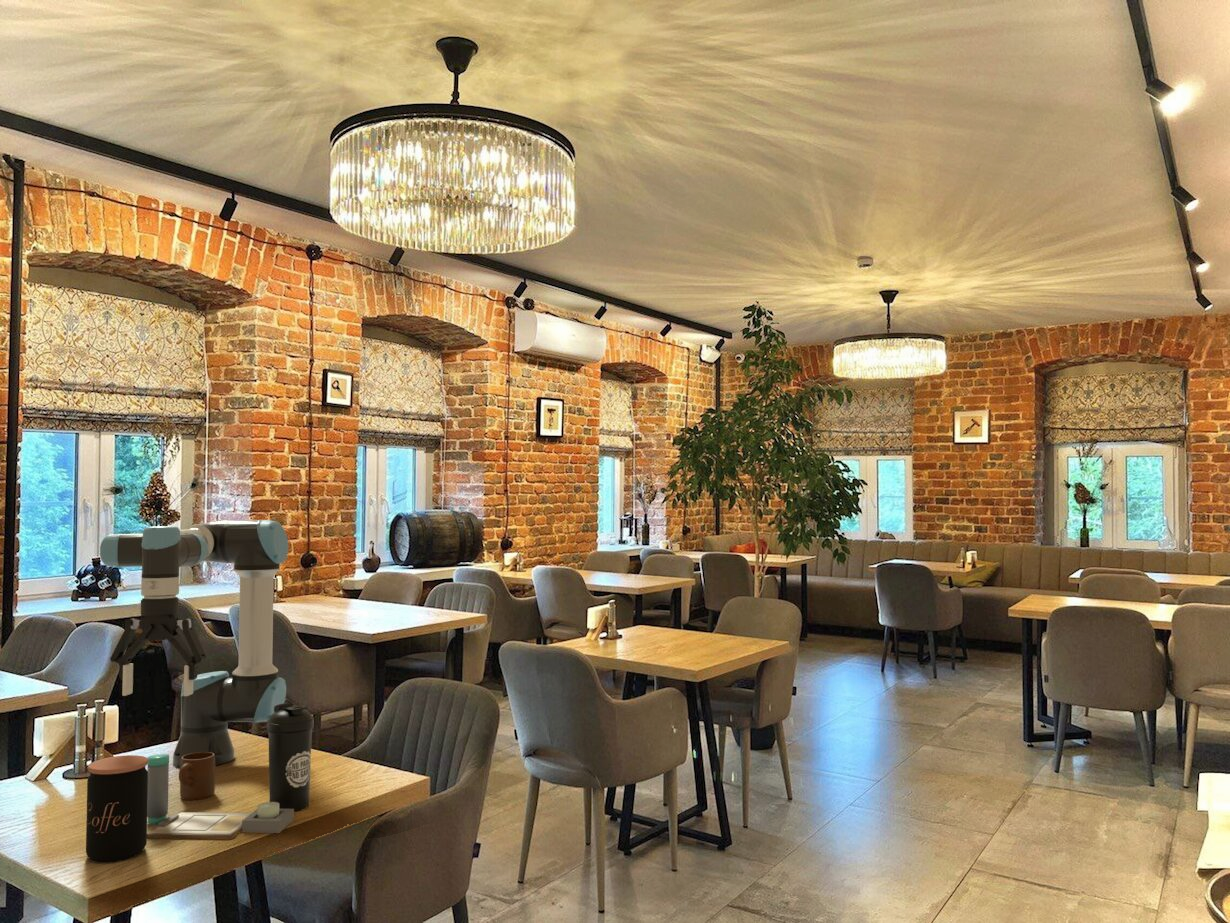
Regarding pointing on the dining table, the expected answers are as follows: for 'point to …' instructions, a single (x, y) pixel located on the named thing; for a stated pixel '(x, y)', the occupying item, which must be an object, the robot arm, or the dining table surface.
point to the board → (199, 826)
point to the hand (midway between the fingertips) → (157, 694)
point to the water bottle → (290, 756)
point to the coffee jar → (116, 808)
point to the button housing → (267, 822)
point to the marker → (157, 788)
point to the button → (268, 810)
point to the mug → (197, 775)
